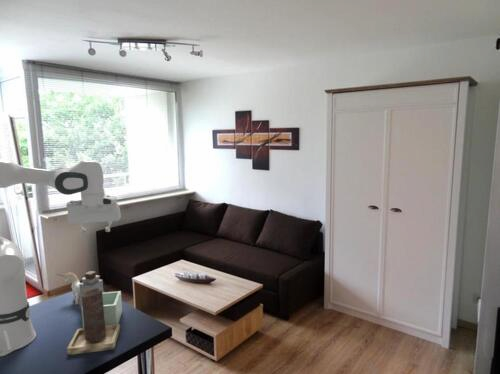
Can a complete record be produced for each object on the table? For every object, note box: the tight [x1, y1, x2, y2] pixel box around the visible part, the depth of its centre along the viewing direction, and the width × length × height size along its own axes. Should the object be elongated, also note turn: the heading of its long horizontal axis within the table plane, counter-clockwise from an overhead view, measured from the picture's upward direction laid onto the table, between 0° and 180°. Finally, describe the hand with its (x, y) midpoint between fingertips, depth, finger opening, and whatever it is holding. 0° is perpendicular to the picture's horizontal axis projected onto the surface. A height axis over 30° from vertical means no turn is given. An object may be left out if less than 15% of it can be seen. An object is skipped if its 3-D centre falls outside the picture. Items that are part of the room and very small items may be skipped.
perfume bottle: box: [79, 270, 104, 310], centre depth 153 cm, size 7×7×18 cm
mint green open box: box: [81, 290, 123, 328], centre depth 144 cm, size 13×13×10 cm
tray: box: [66, 323, 121, 356], centre depth 130 cm, size 16×13×2 cm
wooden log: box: [82, 288, 106, 342], centre depth 128 cm, size 8×7×20 cm
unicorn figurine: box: [56, 272, 82, 306], centre depth 161 cm, size 7×20×13 cm, turn 61°
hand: (95, 232), depth 140 cm, fingers open, 8 cm apart
